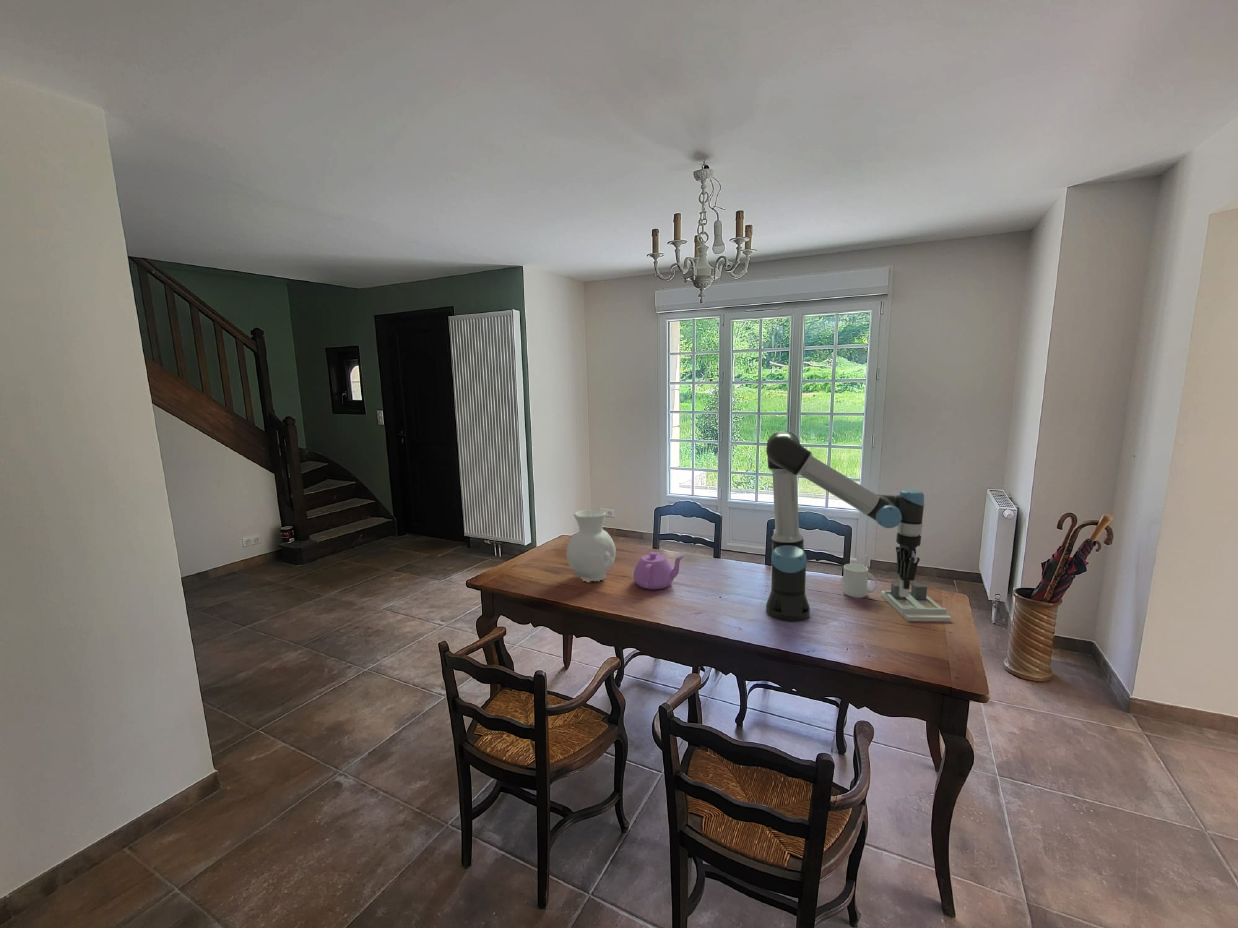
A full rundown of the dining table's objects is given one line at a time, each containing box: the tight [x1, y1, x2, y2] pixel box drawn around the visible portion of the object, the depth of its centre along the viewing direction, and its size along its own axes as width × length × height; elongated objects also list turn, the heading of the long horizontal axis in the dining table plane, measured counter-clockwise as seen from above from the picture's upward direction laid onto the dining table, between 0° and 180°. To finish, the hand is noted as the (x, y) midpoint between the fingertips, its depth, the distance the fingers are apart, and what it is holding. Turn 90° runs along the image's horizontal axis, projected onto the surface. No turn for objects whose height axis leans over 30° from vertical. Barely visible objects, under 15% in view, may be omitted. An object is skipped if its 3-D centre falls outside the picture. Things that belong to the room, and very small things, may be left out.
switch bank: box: [880, 589, 952, 623], centre depth 183 cm, size 14×22×3 cm, turn 175°
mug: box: [842, 563, 878, 599], centre depth 195 cm, size 9×12×11 cm
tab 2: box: [910, 583, 928, 600], centre depth 186 cm, size 4×3×5 cm
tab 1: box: [890, 582, 906, 599], centre depth 188 cm, size 4×3×5 cm
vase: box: [566, 509, 617, 582], centre depth 218 cm, size 19×21×30 cm
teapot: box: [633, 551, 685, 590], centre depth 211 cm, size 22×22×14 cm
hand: (903, 595), depth 182 cm, fingers closed
